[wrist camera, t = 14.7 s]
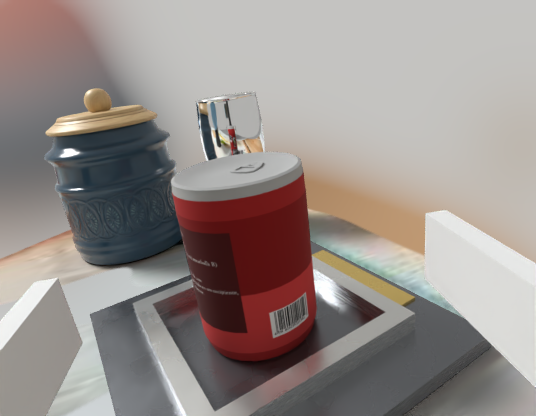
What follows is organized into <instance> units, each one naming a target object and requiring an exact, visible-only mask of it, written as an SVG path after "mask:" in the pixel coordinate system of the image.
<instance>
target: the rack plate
mask: <svg viewBox="0 0 536 416" xmlns="http://www.w3.org/2000/svg"><path fill="white" fill-rule="evenodd" d="M310 242H311V252H312V263H313V273H314V284H315V295H316V305H317V310H316V316H315V320H314V325H313V327H312V329H311V332H310V333H309V335H308V336H307V337H306V339H305V340H304V341H303V342H301V343H300V344H299V345H298V346H297V347H295V348H294V349H292V350H290V351H289V352H287V353H285V354H282V355H280V356H278V357H274V358H271V359H267V360H260V361H240V360H235V359H231V358H229V357H226V356H224V355H222V354H221V353H219V352H218V351H217V350H216V349H215V348H214V347H213V345H212V344H211V343H210V341H209V340H208V338H207V337H206V335H205V332H204V329H203V325H202V320H201V316H200V312H199V308H198V303H197V299H196V295H195V291H194V286H193V282H192V278H191V275H189V276H187V277H184V278H181V279H179V280H176V281H174V282H171V283H169V284H166V285H163V286H161V287H158V288H156V289H153V290H151V291H148V292H146V293H143V294H140V295H138V296H135V297H133V298H130V299H128V300H125V301H123V302H120V303H117V304H115V305H112V306H110V307H107V308H105V309H102V310H100V311H97V312H94V313H92V314H90V317H91V320H92V324H93V328H94V332H95V336H96V340H97V344H98V348H99V352H100V356H101V360H102V364H103V368H104V371H105V375H106V379H107V383H108V387H109V391H110V395H111V399H112V403H113V407H114V411H115V414H116V416H403V415H404V414H405V413H407V412H408V411H409V410H410V409H412V408H413V407H414V406H416V405H417V404H418V403H419V402H421V401H422V400H423V399H425V398H426V397H427V396H428V395H430V394H431V393H432V392H434V391H435V390H436V389H437V388H439V387H440V386H441V385H443V384H444V383H445V382H446V381H448V380H449V379H450V378H452V377H453V376H454V375H455V374H457V373H458V372H459V371H461V370H462V369H463V368H464V367H466V366H467V365H468V364H470V363H471V362H472V361H473V360H475V359H476V358H477V357H479V356H480V355H481V354H482V353H484V352H485V351H486V350H488V349H489V348H490V347H491V343H490V342H488V341H487V340H486V339H485V338H484V337H483V336H482V335H481V334H480V333H479V332H478V331H477V330H476V329H475V328H474V327H473V326H472V325H471V324H470V323H469V322H468V321H467V320H466V319H464V318H462V317H460V316H458V315H456V314H454V313H452V312H450V311H448V310H446V309H444V308H442V307H440V306H438V305H436V304H434V303H432V302H430V301H428V300H426V299H424V298H422V297H420V296H418V295H417V294H415V293H413V292H411V291H409V290H407V289H405V288H403V287H401V286H399V285H397V284H395V283H393V282H391V281H389V280H387V279H385V278H383V277H381V276H379V275H377V274H375V273H373V272H371V271H369V270H367V269H365V268H363V267H361V266H359V265H357V264H355V263H353V262H351V261H349V260H347V259H345V258H343V257H341V256H339V255H337V254H335V253H333V252H331V251H330V250H328V249H326V248H324V247H322V246H320V245H318V244H316V243H314V242H312V241H310Z"/></svg>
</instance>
